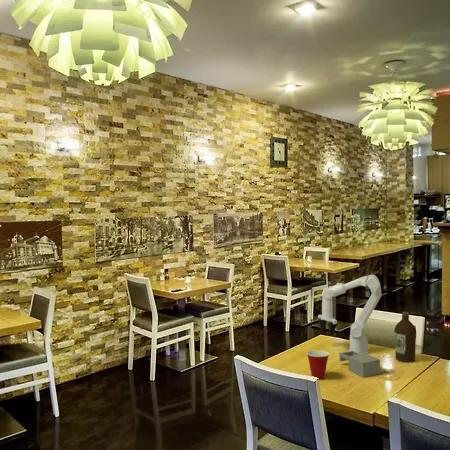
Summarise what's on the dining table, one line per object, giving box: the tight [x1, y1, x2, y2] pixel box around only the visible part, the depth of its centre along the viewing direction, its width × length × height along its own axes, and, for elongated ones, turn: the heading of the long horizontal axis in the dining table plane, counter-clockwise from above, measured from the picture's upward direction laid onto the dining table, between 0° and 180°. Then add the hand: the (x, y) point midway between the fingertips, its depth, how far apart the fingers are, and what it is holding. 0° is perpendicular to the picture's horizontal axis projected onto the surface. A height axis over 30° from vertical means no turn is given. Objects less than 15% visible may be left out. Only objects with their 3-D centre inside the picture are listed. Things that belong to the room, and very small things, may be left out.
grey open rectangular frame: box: [338, 351, 381, 378], centre depth 218 cm, size 10×19×7 cm, turn 24°
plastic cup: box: [305, 349, 330, 381], centre depth 208 cm, size 11×11×12 cm
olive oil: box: [393, 311, 417, 364], centre depth 230 cm, size 11×11×25 cm
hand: (327, 333), depth 247 cm, fingers open, 7 cm apart
